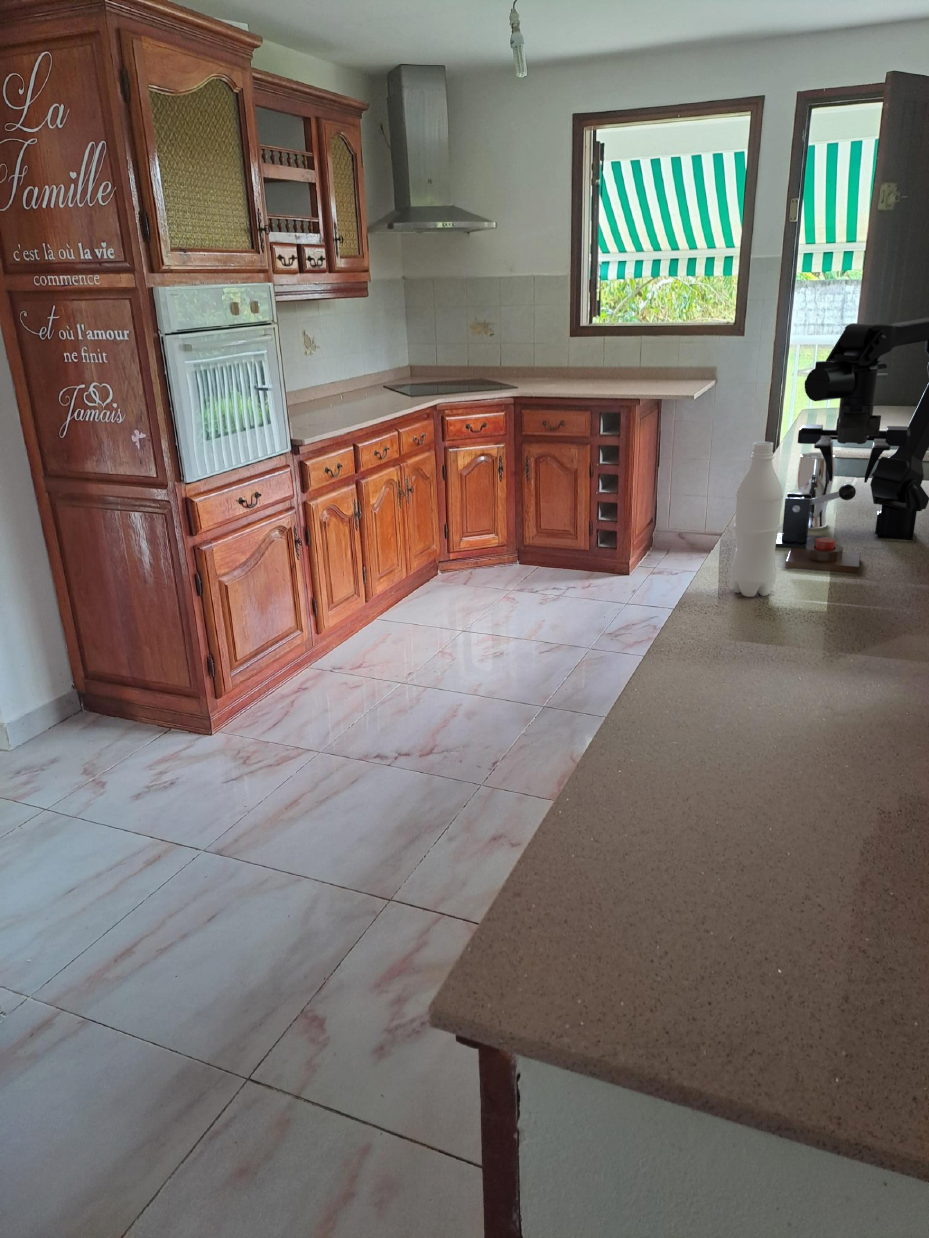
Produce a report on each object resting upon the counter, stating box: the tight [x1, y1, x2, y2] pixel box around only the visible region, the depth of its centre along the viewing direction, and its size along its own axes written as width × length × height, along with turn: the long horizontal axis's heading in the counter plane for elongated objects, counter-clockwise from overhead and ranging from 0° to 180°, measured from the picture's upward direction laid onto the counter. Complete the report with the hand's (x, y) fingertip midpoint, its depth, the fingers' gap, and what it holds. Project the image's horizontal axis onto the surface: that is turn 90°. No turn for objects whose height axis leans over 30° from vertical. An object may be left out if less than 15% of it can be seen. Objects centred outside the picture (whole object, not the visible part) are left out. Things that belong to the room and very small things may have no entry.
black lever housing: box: [775, 492, 827, 549], centre depth 171 cm, size 11×8×10 cm
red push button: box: [815, 537, 836, 550], centre depth 158 cm, size 3×3×2 cm
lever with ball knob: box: [799, 483, 857, 505], centre depth 168 cm, size 12×3×3 cm, turn 66°
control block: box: [785, 543, 861, 574], centre depth 159 cm, size 12×9×4 cm
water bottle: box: [730, 441, 784, 598], centre depth 144 cm, size 7×7×25 cm
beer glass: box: [796, 451, 836, 530], centre depth 182 cm, size 7×7×15 cm
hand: (848, 481), depth 165 cm, fingers open, 6 cm apart
